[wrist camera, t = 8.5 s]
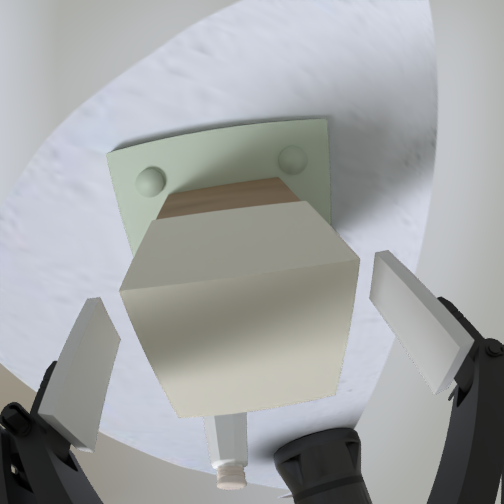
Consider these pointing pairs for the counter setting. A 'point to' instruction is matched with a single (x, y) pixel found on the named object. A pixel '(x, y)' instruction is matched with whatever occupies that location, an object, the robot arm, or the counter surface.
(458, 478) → the robot arm
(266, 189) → the brick
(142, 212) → the base plate
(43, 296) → the counter surface
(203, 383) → the brick
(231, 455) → the pepper shaker
